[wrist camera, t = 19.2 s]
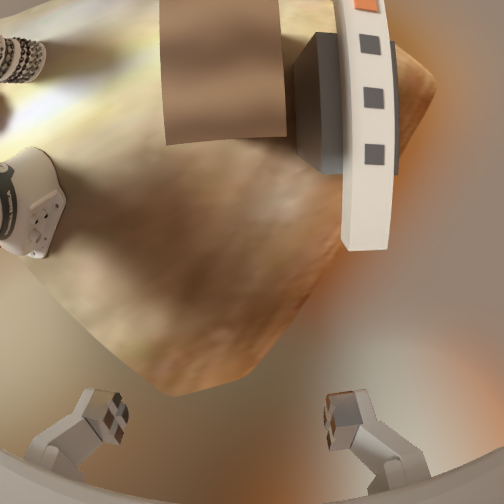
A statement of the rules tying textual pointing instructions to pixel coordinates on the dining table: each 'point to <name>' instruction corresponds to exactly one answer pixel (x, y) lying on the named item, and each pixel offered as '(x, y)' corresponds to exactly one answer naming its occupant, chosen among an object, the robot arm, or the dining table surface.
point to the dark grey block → (327, 104)
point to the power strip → (366, 123)
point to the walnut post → (221, 70)
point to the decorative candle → (20, 60)
